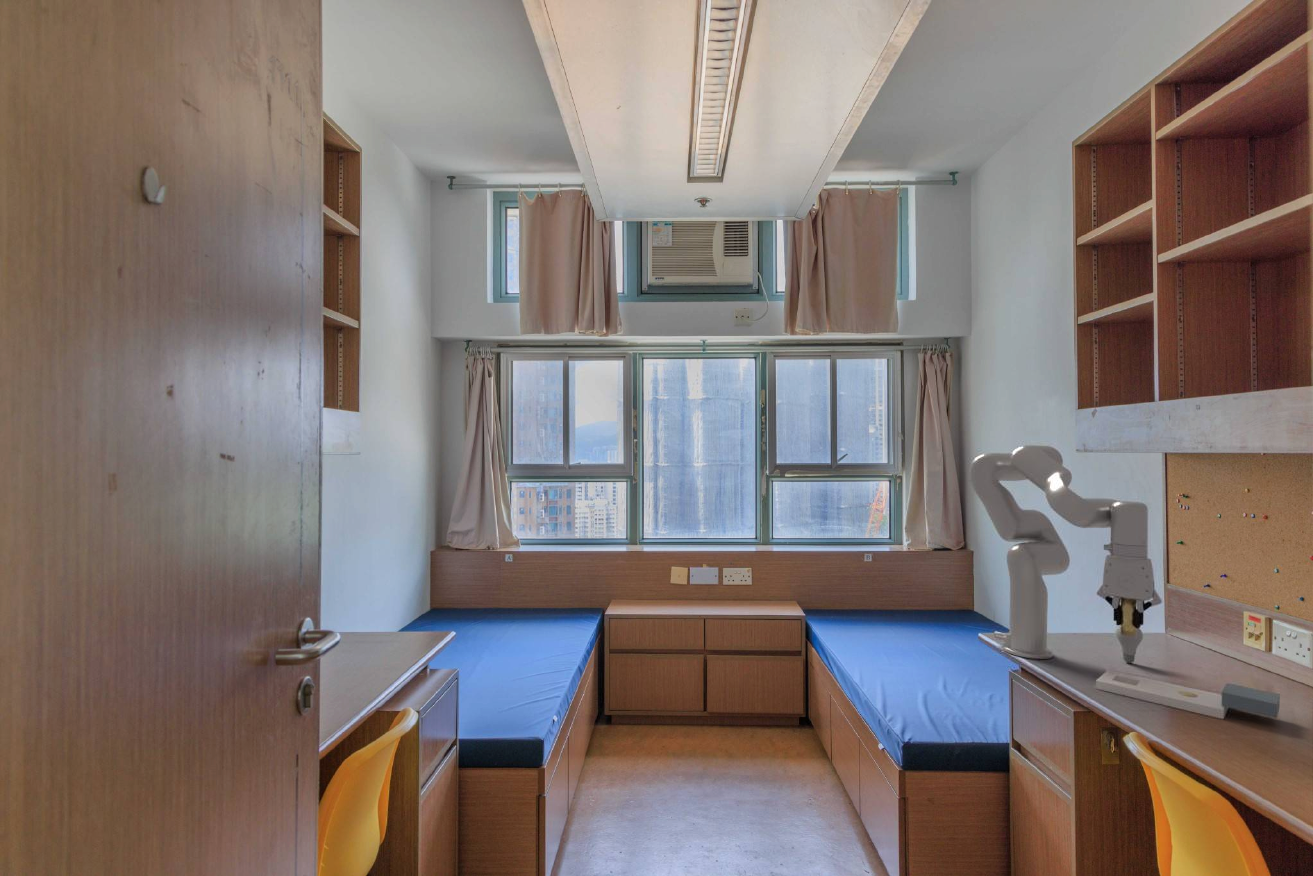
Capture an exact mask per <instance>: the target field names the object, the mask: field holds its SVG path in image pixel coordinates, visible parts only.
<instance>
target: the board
mask: <svg viewBox="0 0 1313 876" xmlns="http://www.w3.org/2000/svg"><path fill="white" fill-rule="evenodd" d="M1095 689H1096V690H1100V691H1105V692H1108V693H1113V694H1116V695H1117V694H1118V695H1120V696H1124V695H1125V696H1126V697H1129V698H1134V699H1138V700H1142V701H1146V702H1150V703H1153V704H1157V705H1162V706H1167V707H1172V708H1176V709H1180V710H1184V711H1188V712H1193V713H1196V714H1201V715H1204V716H1209V717H1213V718H1217V719H1221V720H1224V718H1225V716H1226V715H1227V712H1228V710H1229V709H1230V708H1229V707H1225V706H1222V694H1220V693H1215V692H1210V691H1206V690H1201V689H1197V688H1191V687H1188V686H1183V685H1178V684H1174V683H1169V682H1164V681H1161V680H1155V679H1151V678H1145V677H1143V676H1138V675H1133V674H1128V673H1124V672H1119V671H1114V670H1109V669H1107V670H1106V671H1105V672H1104V673H1103V674H1101V676H1099V677H1098V678H1097V679H1096V681H1095ZM1125 696H1124V697H1125Z"/></svg>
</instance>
